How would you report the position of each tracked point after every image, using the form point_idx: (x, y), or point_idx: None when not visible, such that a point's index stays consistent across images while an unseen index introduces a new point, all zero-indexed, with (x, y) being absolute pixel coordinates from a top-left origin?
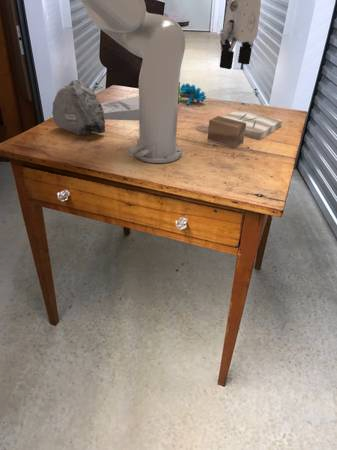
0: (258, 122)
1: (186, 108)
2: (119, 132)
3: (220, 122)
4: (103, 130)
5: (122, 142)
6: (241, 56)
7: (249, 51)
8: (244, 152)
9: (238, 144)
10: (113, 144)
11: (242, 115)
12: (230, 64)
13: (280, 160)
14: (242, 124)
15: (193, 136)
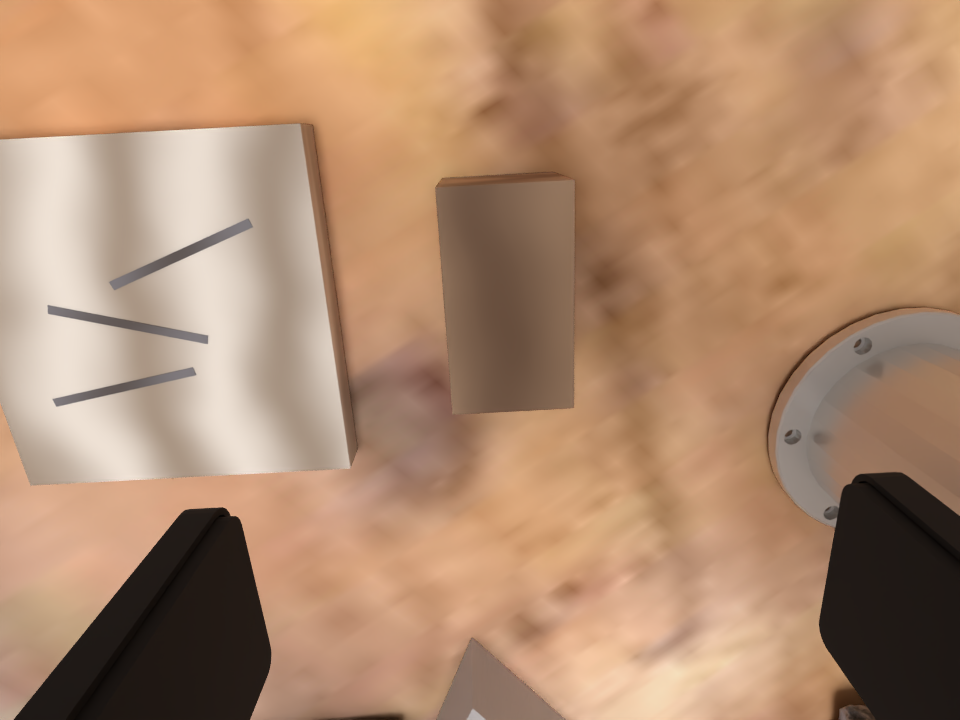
0: (122, 252)
1: None
2: (759, 680)
3: (564, 329)
4: (862, 712)
5: None
6: (225, 709)
7: (122, 691)
8: (570, 86)
9: (507, 174)
10: None
11: (104, 404)
12: (940, 520)
13: None
14: (485, 192)
15: (564, 438)
